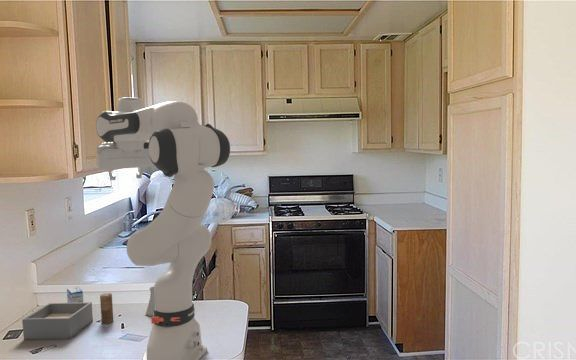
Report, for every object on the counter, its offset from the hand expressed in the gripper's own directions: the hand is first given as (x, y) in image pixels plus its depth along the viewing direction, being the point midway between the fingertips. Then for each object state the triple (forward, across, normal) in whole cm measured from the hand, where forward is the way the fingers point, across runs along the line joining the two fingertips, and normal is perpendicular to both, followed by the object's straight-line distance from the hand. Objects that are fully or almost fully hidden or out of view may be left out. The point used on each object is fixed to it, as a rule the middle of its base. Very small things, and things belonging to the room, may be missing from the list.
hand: (126, 178), depth 165 cm
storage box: (+52, -24, -10) cm, 58 cm away
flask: (+50, +8, -17) cm, 53 cm away
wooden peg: (+50, -8, -13) cm, 53 cm away
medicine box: (+57, -14, +6) cm, 60 cm away
